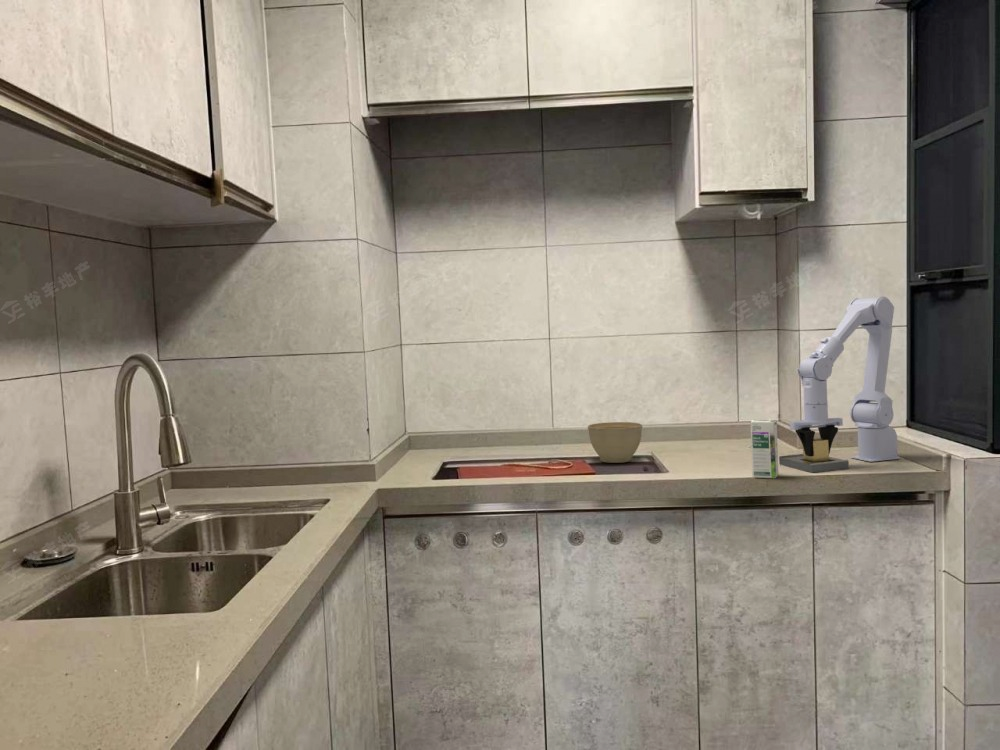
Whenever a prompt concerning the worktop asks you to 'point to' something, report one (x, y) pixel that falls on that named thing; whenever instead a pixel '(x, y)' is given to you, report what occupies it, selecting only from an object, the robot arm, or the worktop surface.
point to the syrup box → (764, 448)
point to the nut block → (818, 451)
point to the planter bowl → (615, 440)
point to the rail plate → (812, 464)
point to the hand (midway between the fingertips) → (817, 454)
